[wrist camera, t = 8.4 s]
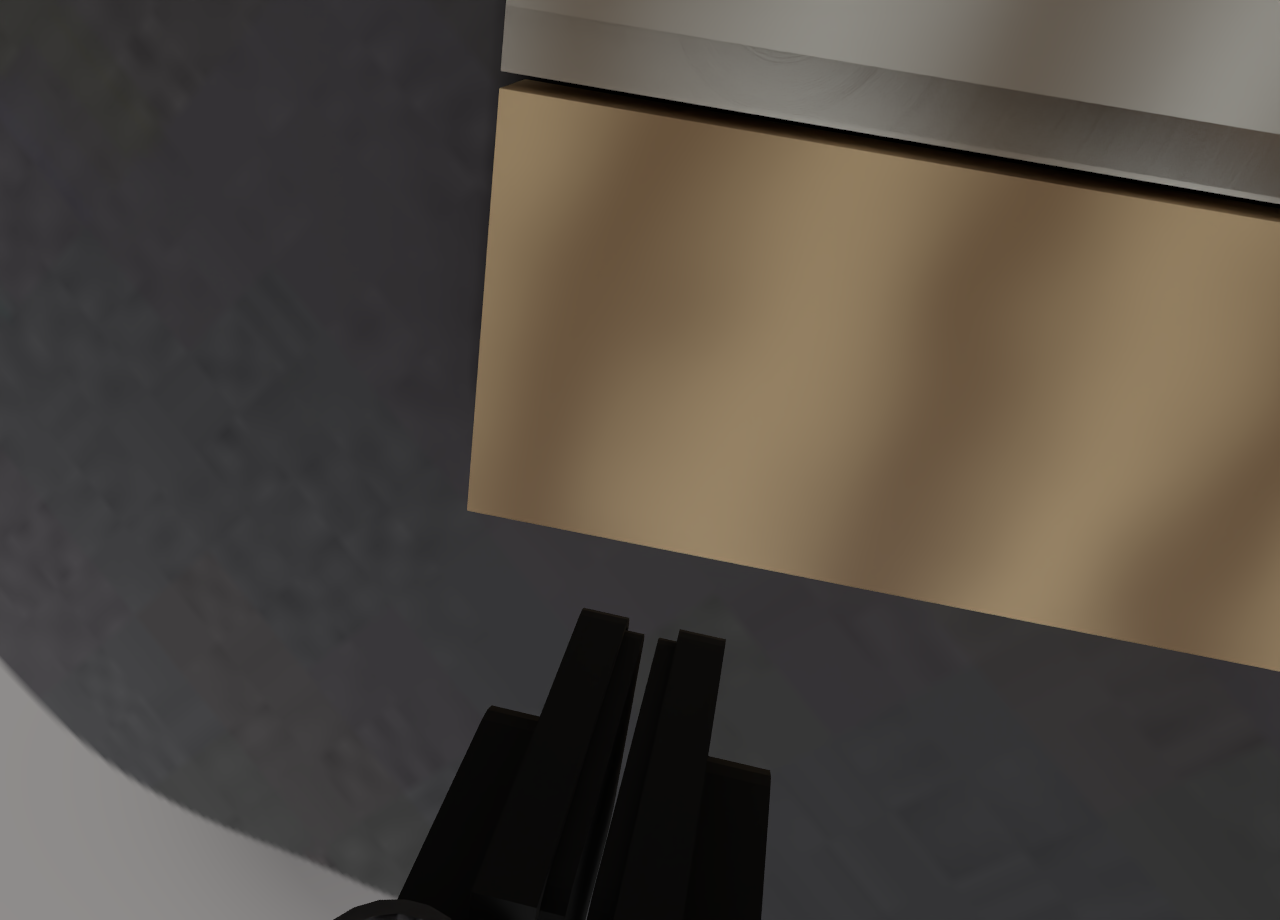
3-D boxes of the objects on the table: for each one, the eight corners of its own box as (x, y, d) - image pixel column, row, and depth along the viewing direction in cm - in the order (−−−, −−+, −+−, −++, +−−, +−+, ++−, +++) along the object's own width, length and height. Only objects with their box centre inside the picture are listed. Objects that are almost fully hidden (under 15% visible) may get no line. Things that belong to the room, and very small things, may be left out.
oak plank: (1551, 254, 19) (1631, 283, 17) (1334, 636, 23) (1380, 691, 21) (525, 78, 20) (499, 88, 18) (491, 471, 24) (466, 510, 22)
